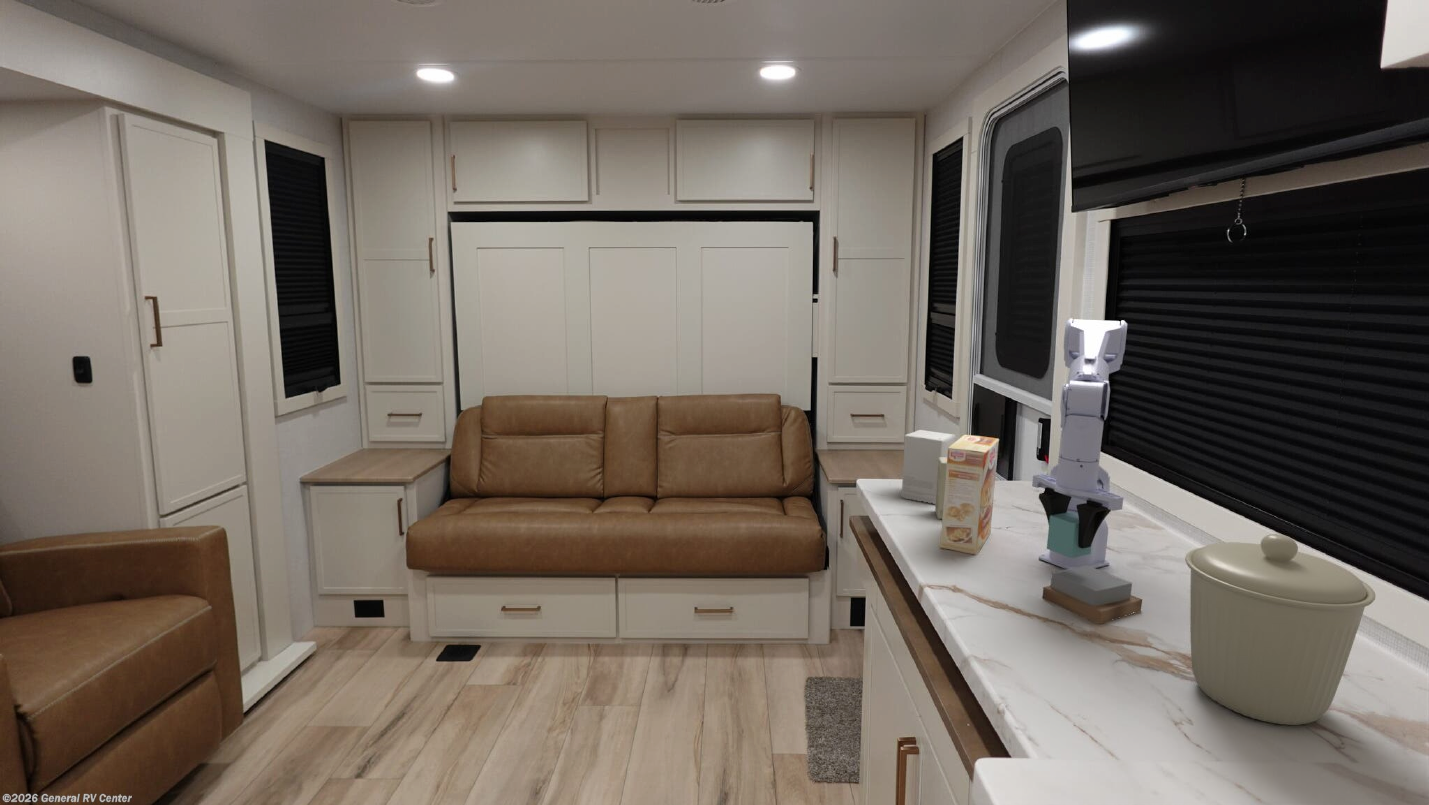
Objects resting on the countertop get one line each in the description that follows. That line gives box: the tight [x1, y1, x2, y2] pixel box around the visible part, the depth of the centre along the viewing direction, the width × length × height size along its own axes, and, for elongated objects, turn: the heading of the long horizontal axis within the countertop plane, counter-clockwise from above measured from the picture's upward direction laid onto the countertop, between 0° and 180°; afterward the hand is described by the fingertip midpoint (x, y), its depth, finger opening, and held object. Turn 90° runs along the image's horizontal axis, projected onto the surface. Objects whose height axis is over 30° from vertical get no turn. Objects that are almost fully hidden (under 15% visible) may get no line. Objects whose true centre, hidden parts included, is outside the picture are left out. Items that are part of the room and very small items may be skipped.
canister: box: [1184, 533, 1376, 726], centre depth 90 cm, size 18×18×21 cm
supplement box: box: [901, 429, 957, 505], centre depth 174 cm, size 9×9×15 cm
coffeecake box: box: [939, 434, 1000, 556], centre depth 145 cm, size 15×7×20 cm, turn 150°
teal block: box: [1046, 512, 1092, 558], centre depth 119 cm, size 4×4×6 cm
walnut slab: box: [1041, 584, 1143, 625], centre depth 119 cm, size 10×10×2 cm
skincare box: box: [934, 457, 947, 520], centre depth 161 cm, size 6×4×12 cm
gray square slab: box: [1050, 565, 1133, 607], centre depth 118 cm, size 8×8×2 cm
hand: (1070, 541), depth 119 cm, fingers closed on teal block, 4 cm apart
